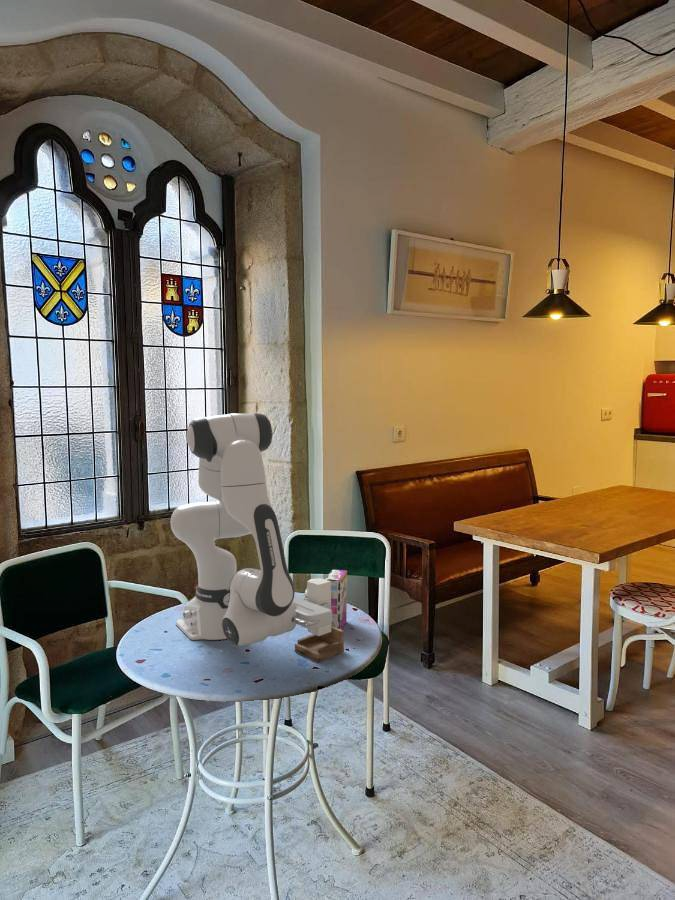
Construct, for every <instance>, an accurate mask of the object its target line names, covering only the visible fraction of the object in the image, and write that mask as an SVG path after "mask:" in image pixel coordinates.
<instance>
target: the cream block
mask: <svg viewBox="0 0 675 900" xmlns="http://www.w3.org/2000/svg"><path fill="white" fill-rule="evenodd" d="M313 579H314V580H310V579H309V580H310V581H308V580H307V582H306V585H307V587H306V589H307V599H308V601H309V602H311V603H314V604H317V605H319V606H322V604H323V603H329V604H331V581H328V580H325V579H324V578H321V577H318V578H313ZM330 610H331V609H330ZM307 632H308V633H311V634H312V635H313V634H315V635H317V636H321V635H323V634H326V633H329V632H331V624H329V625H326V626H323V627H318V628H313V629H309V628H307Z"/></svg>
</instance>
